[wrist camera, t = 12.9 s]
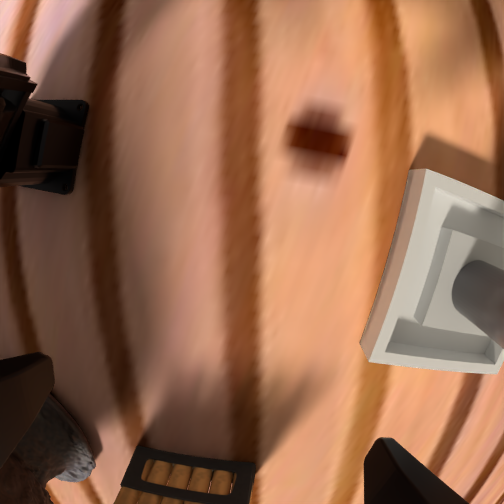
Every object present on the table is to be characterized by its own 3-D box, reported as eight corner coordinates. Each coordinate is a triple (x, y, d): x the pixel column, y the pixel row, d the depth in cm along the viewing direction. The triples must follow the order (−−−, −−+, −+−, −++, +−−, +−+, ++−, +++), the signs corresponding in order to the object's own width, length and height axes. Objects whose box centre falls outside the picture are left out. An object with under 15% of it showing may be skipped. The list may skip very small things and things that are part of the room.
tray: (359, 342, 20) (368, 361, 18) (409, 169, 18) (426, 168, 15) (482, 359, 20) (497, 374, 18) (528, 219, 18) (549, 224, 15)
